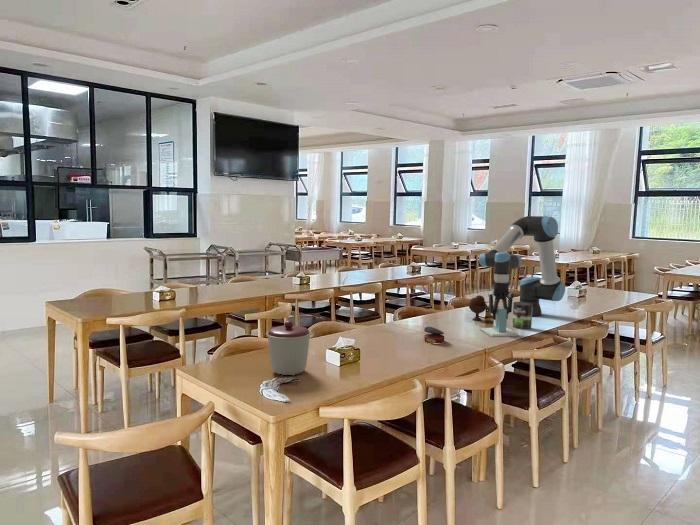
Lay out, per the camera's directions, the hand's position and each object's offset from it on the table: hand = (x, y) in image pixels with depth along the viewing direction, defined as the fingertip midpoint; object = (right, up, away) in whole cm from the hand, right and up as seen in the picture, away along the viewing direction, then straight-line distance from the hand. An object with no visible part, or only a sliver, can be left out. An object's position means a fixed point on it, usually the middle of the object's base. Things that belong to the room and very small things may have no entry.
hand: (499, 325), depth 275 cm
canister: (-104, -11, -64) cm, 123 cm away
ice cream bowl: (-4, -1, +34) cm, 34 cm away
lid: (0, -4, 0) cm, 4 cm away
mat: (0, -5, +1) cm, 5 cm away
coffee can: (+16, -3, +14) cm, 22 cm away
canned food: (-37, -7, -15) cm, 41 cm away
